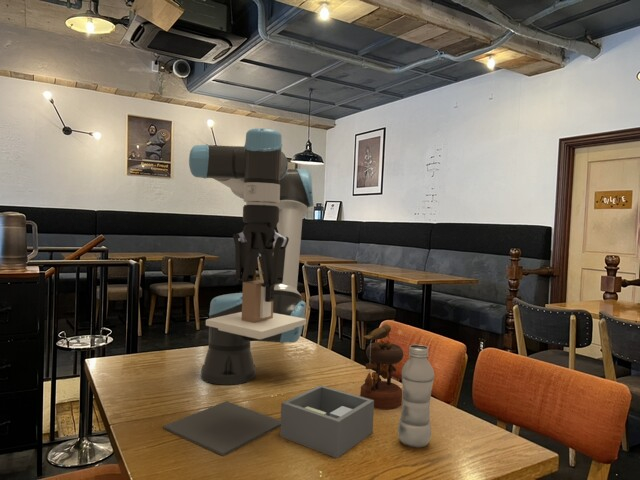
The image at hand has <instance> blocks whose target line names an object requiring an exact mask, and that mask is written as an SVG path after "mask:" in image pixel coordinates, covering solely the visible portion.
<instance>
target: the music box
mask: <svg viewBox="0 0 640 480" xmlns="http://www.w3.org/2000/svg"><path fill="white" fill-rule="evenodd" d="M391 330H392V328H391V325H389V324H388V323H385V324H382V326H381V327H377V328H375V329H373V330H372V331H370V332H368V333H367V334H366V335H362V338H364V339H366V340H370V343H369V345H367V347H366V349H365V355H366V357H367V358H368V360H369V363H365V370H369V371H368V373H367V376H366V377H365V380H364V383H363V384H362V385H361V386H360V395H359V396H361V397H364V398H368V399H371V400H374V409H377V410H393V409H397V408H400V407H401V406H402V405H403V388H401V387H400V385H398V384H396V383H394V382H392V373H394V372H397V368H396V367H395V366H394V365H396V364H399V363H400V362H401V361H402V359H403V358H404V350H403V348H402V347H401V346H400V345H398V344H395V343H391V340H390V339H389V340H386V341H385V338H386V337H388V338H390V333H391ZM373 340H374V342H372V341H373ZM378 340H380V341H379V342H378ZM372 369H375V371H373V372H372V373H371V370H372ZM382 379H385V380H386V381H385V380H382Z"/></svg>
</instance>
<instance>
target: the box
mask: <svg viewBox="0 0 640 480" xmlns="http://www.w3.org/2000/svg"><path fill="white" fill-rule="evenodd" d="M280 405H281V406H280V408H281V409H280V421H281V426H280V427H279V428H280V432H279V437H281V438H283V439H286V440H289V441H291V442H294V443H297V444H299V445H301V446H304V447H307V448H309V449H311V450H315V451H317V452H319V453H321V454H325V455H328V456H330V457H333V458H335V459H339V458H340V457H341V456H342V455H344V454H345V453H347V452H348V451H349V450H351V449H352V448H353V447H355V446H356V445H358V444H359V443H361V442H362V441H364V440H365V439H366V438H367V437H369V436H370V435H371V434H373V433H374V431H373V430H374V413H375V412H374V411H375V408H374V400H371V399H368V398H364V397H361V396H360V395H356V394H353V393H350V392H345V391H342V390H339V389H336V388H332V387H329V386H324V385H322V384H320V385H317V386H315V387H313V388H311V389H309V390H306V391H305V392H302V393H300V394H297V395H295V396H293V397H291V398H289V399H287V400H284V401H282V402H281V404H280Z"/></svg>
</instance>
